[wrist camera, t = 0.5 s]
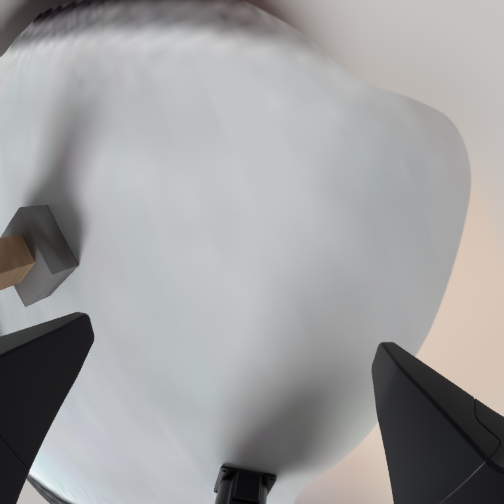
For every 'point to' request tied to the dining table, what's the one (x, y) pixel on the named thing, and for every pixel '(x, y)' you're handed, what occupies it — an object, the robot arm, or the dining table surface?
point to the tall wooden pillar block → (34, 254)
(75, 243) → the dining table surface
